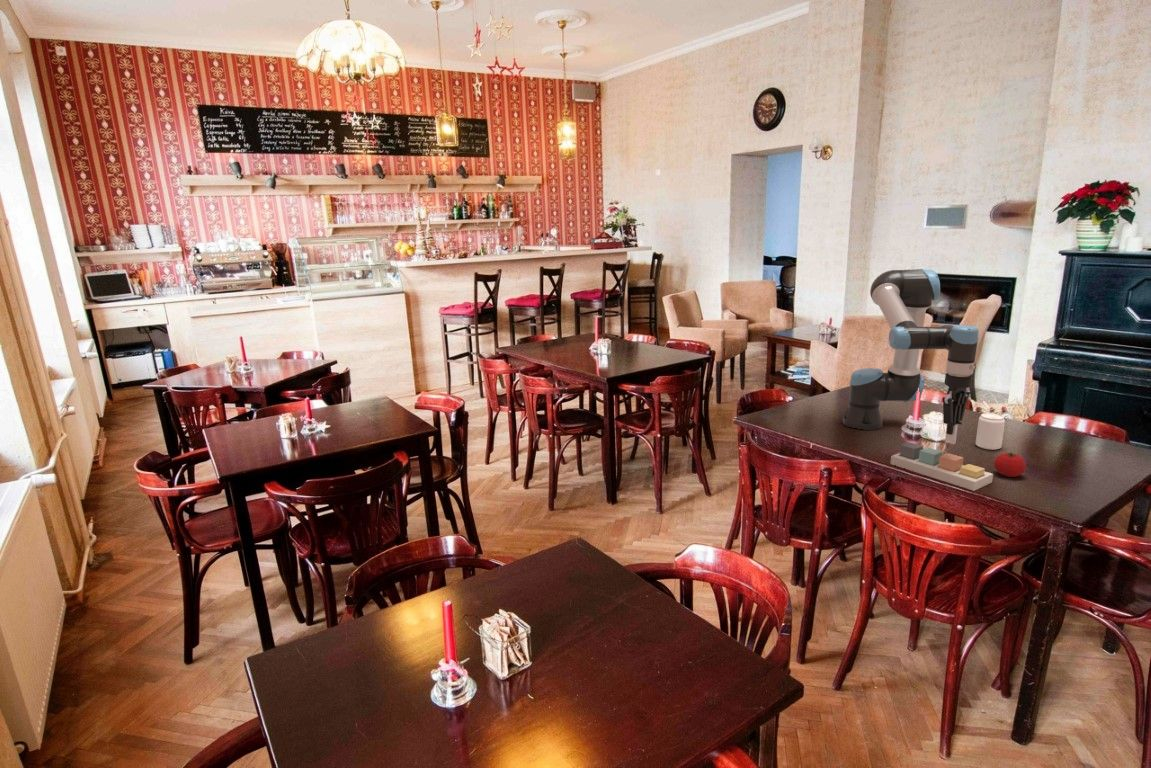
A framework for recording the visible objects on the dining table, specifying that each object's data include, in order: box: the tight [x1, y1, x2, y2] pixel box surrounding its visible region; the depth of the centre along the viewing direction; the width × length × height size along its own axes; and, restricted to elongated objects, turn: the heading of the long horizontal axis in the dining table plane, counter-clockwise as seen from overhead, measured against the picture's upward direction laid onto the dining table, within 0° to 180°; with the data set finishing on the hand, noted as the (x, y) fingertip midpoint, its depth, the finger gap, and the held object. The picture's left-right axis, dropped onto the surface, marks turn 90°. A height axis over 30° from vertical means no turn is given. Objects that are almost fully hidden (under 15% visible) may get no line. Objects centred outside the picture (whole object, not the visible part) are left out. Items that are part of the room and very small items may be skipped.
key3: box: [939, 452, 964, 472], centre depth 208 cm, size 5×5×4 cm
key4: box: [960, 463, 986, 479], centre depth 203 cm, size 5×5×4 cm
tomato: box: [993, 452, 1027, 478], centre depth 208 cm, size 9×9×8 cm
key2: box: [919, 447, 944, 466], centre depth 214 cm, size 5×5×4 cm
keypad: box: [889, 452, 994, 492], centre depth 212 cm, size 28×11×3 cm, turn 32°
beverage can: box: [975, 412, 1006, 451], centre depth 232 cm, size 8×8×12 cm
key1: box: [899, 441, 924, 460], centre depth 220 cm, size 5×5×4 cm
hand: (950, 442), depth 208 cm, fingers closed
